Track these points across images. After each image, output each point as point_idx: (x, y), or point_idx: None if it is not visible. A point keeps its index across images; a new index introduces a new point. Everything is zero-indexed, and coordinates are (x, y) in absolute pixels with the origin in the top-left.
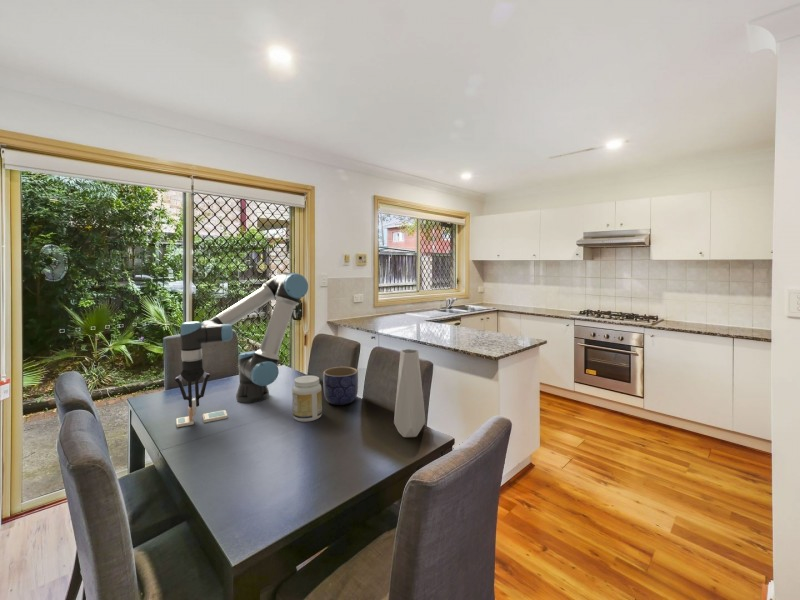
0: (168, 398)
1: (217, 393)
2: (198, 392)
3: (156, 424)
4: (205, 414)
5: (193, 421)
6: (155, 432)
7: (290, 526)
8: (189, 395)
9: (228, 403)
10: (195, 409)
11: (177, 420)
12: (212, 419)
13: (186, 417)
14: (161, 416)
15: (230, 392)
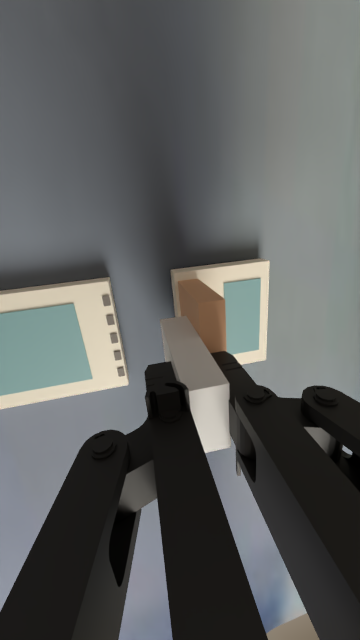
0: (273, 581)
1: None
2: (163, 502)
3: (336, 347)
4: (108, 372)
5: (174, 273)
6: (354, 239)
7: None
8: (295, 437)
9: (4, 520)
10: (172, 338)
11: (261, 327)
12: (50, 287)
13: None
14: None
15: None
